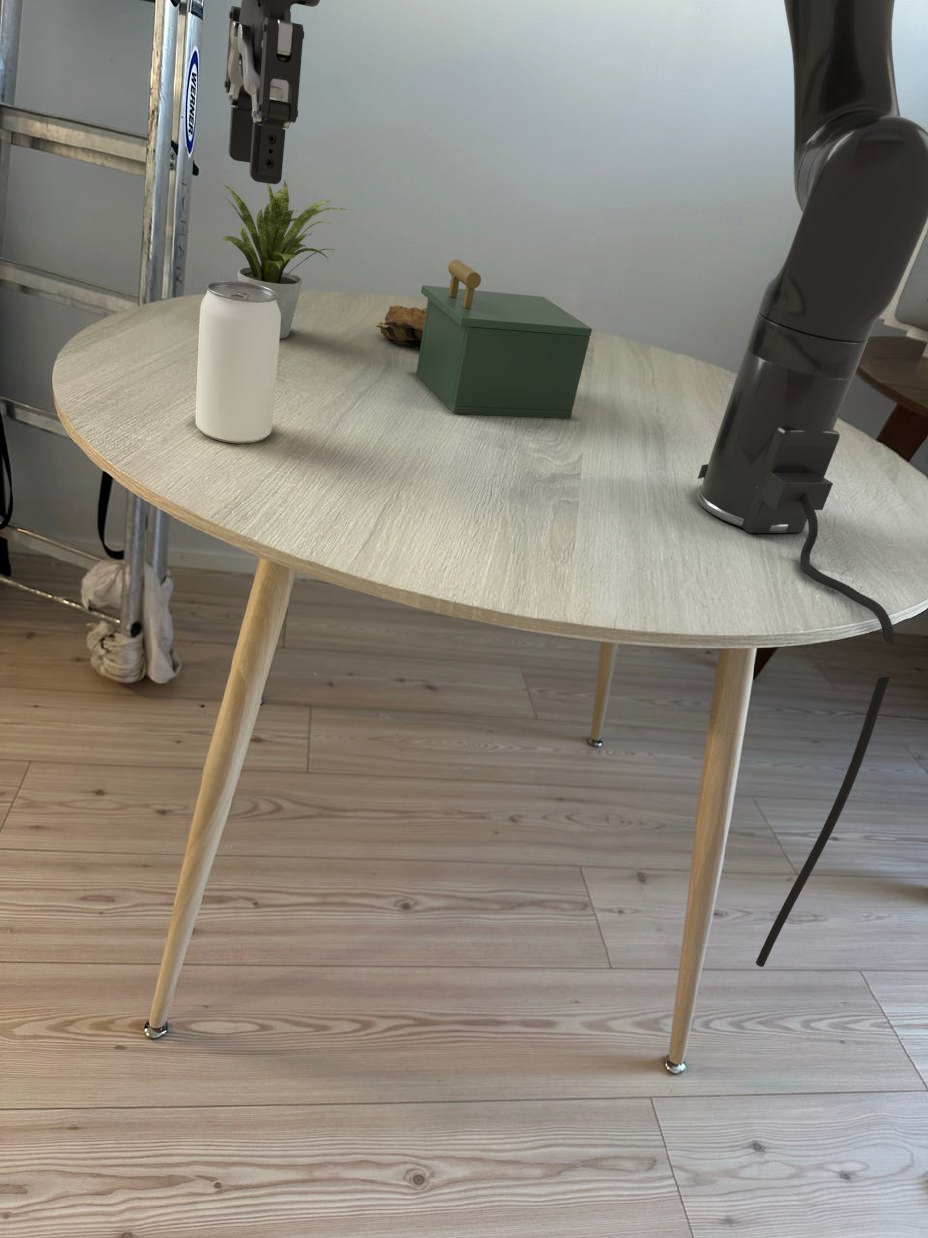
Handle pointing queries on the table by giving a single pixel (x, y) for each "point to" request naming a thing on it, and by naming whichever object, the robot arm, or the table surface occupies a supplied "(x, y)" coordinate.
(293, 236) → the house plant
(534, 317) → the bread bin lid
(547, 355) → the bin
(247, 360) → the can
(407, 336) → the brown tree bark piece
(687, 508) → the table surface
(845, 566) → the table surface
